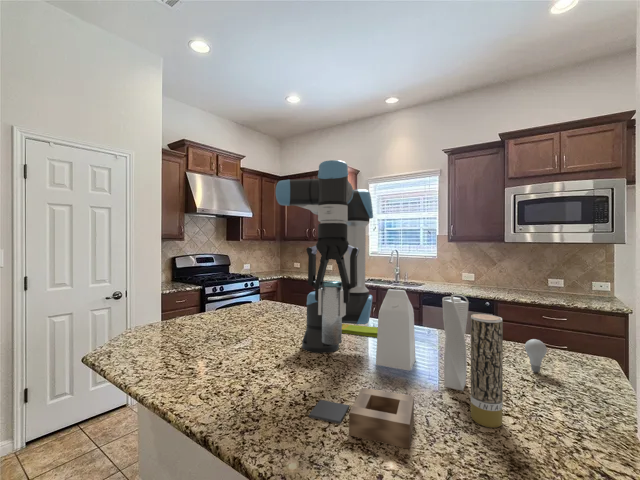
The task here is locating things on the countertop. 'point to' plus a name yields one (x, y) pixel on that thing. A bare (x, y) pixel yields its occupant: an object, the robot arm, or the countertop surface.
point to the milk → (396, 332)
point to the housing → (382, 417)
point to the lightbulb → (535, 353)
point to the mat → (329, 411)
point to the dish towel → (359, 330)
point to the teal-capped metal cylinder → (331, 313)
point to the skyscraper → (455, 341)
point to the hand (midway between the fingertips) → (331, 314)
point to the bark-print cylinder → (487, 369)
